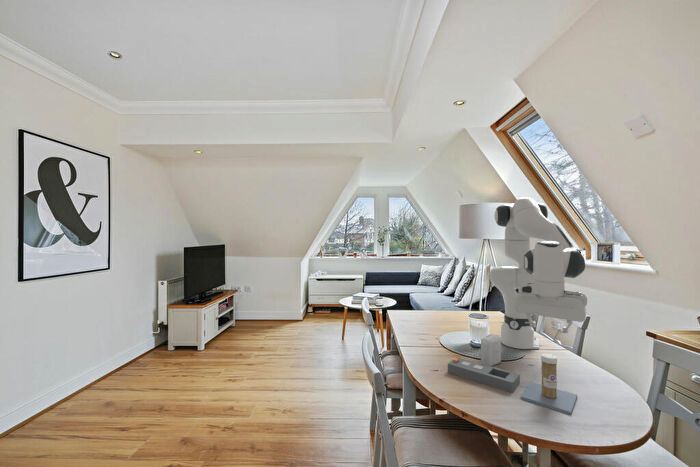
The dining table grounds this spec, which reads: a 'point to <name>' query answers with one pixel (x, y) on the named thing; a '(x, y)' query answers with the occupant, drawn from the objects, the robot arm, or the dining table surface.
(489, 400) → the dining table surface
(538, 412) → the dining table surface
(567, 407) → the rubber mat
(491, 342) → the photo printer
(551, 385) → the sprinkles bottle
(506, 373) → the power strip
